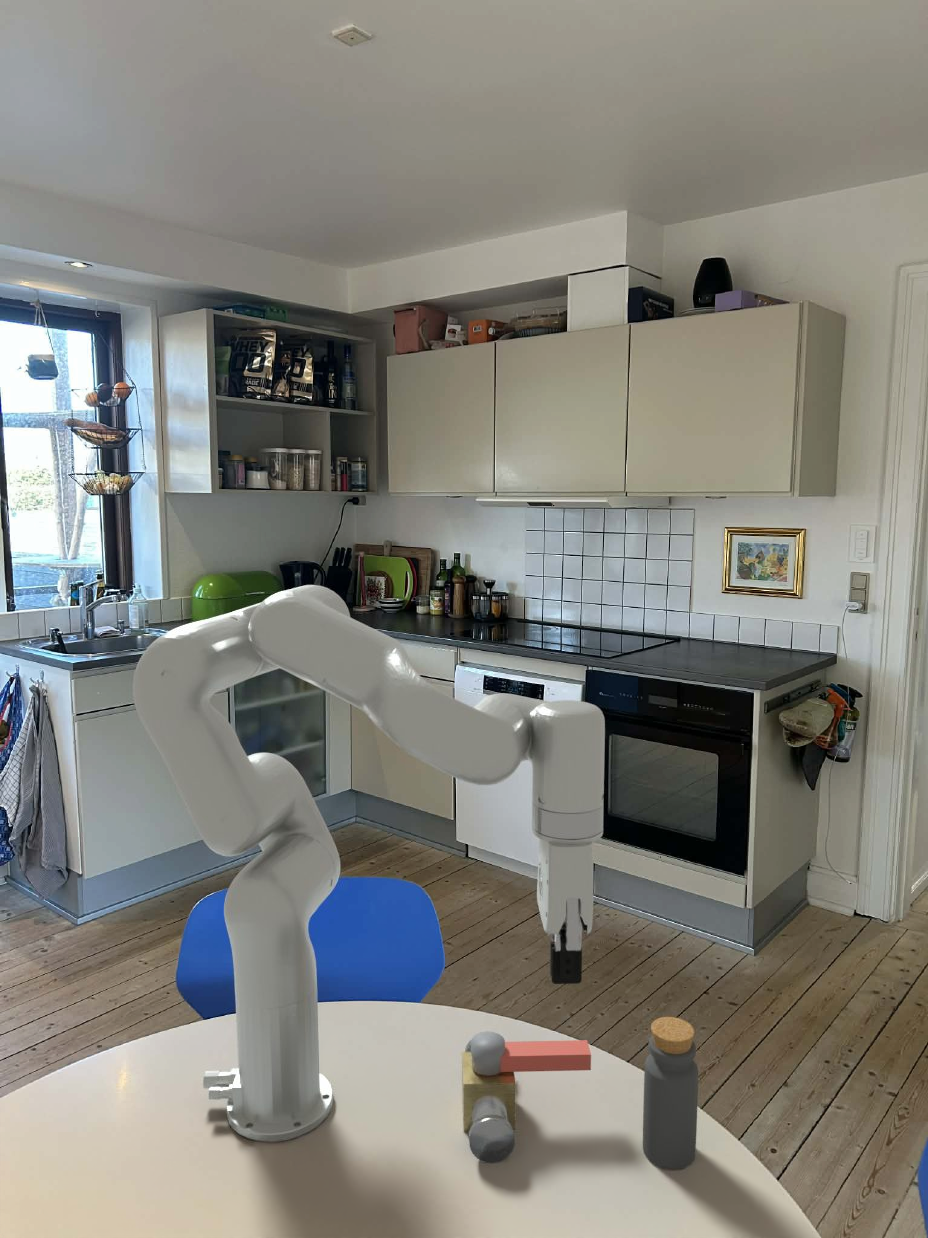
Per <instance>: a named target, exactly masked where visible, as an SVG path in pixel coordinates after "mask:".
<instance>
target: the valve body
mask: <svg viewBox="0 0 928 1238" xmlns="http://www.w3.org/2000/svg"><path fill="white" fill-rule="evenodd" d="M461 1093H462V1094H461V1098H462V1099H461V1100H462V1104H461V1105H462V1124H463V1125H462V1126H463V1132H468V1139H469V1141H468V1143H469V1149H470V1151H471V1154H472V1155H473V1156H474V1157H475V1158H476V1159H477V1160H479V1161H481V1162H483V1163H488V1164H494V1163H500V1162H503V1161H504V1160H505V1159H506V1160H507V1158H508V1157H510V1155H511V1154H512V1152H513V1151H514V1147H515V1144H516V1143H515V1141H516V1140H515V1133H514V1131H516V1078H515V1072H500V1073H498V1074H496V1075H491V1076H486V1075H481V1074H478V1073H476V1072H475V1071H474V1070H473V1069H472V1067H471V1039H470V1040H469V1041H468V1042H467V1044H466V1047H465V1051H464V1052H463V1051H462V1052H461Z"/></svg>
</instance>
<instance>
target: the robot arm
mask: <svg viewBox="0 0 928 1238" xmlns="http://www.w3.org/2000/svg"><path fill="white" fill-rule="evenodd" d="M278 669H281V670H283V671H285V672H287V673H289V674H291V675H293V676H294V677H297V678H298V679H300V680H303V681H305V682H307V683H309V684H311V685H313V686H315V687H317V688H319V689H321V690H323V691H325V692H327V693H329V694H331V695H333V696H334V697H337V698H338V699H340V700H342V701H344V702H346V703H348V704H350V705H351V706H353V707H355V708H358V709H359V710H361V711H362V712H363V713H364V714H366V715H367V716H368V718H369V719H370V720H371V722H372V723H373V724H374V725H375V726H376V727H377V728H378V729H380V730H381V731H382V732H383V733H384V734H385V735H386V736H387V737H388V738H389V739H390V740H391V741H392V742H394V744H396V745H397V747H399V748H401V749H402V750H403V751H405V752H406V753H407V754H408V755H411V756H412V757H413V758H415V759H418V760H419V761H420V762H423V763H425V764H426V765H429V766H431V767H432V768H435V769H437V770H439V771H440V772H442V773H445V774H446V775H449V776H451V777H452V778H455V779H458V780H459V781H463V782H464V783H469V784H472V785H476V786H494V785H498V784H500V783H502V782H504V781H506V780H508V779H509V778H510V777H511V776H512V775H513V774H514V773H515V772H516V770H517V769H518V768H519V766H520V764H521V763H522V762H524V761H529V762H530V763H531V765H532V767H531V768H532V791H531V792H532V798H531V799H532V800H531V802H532V803H531V809H532V810H531V818H532V819H531V832H532V833H533V835H534V836H535V837H537V838H538V859H537V862H538V864H537V883H536V884H537V885H536V887H537V888H536V902H537V905H538V911H539V915H540V919H541V923H542V926H543V931H544V932H545V933H546V934H547V935H548V936H551V941H550V943H549V945H550V947H549V948H550V949H549V950H550V952H549V954H550V955H549V957H550V960H549V961H550V963H549V973H550V978H551V982H552V984H554V985H566V984H568V985H569V984H572V985H573V984H581V982H582V980H583V979H582V973H583V971H582V970H583V969H582V968H583V947H582V940H583V939H582V938H583V937H582V936H583V934H582V933H583V932H584V934H585V935H588V934H589V933H591V932H592V930H593V929H592V928H593V920H594V919H593V918H594V917H593V916H594V864H595V863H594V862H595V861H594V842H595V841H597V840H599V839H601V837H603V835H604V805H605V804H604V798H605V795H604V794H605V792H604V791H605V783H604V782H605V742H606V741H605V739H606V727H605V726H606V724H605V723H606V721H605V716H604V714H603V710H601V708H600V707H598V706H597V705H595V704H592V703H590V702H586V701H581V700H573V699H572V700H569V699H568V700H567V699H565V700H564V699H563V700H562V699H561V700H552V701H547V700H544V699H543V700H542V699H537V698H532V697H528V696H522V695H520V694H519V695H518V694H513V693H506V692H505V693H504V692H503V693H494V694H490V695H487V696H485V697H483V698H482V699H480V701H479V702H477V703H476V704H475V705H474V706H471V705H469V704H467V703H465V702H462V701H461V700H459V699H456V698H454V697H452V696H450V695H448V694H447V693H446V692H443V691H441V690H440V689H438V688H436V687H435V686H434V685H432V684H431V683H429V682H428V681H427V680H425V679H424V678H423V676H421V675H420V674H419V673H418V672H417V671H416V669H415V668H414V666H413V665H412V663H411V661H410V658H409V656H408V654H407V652H406V649H405V648H404V646H403V644H402V643H401V642H400V641H398V639H396V638H394V637H392V636H390V635H388V634H385V633H384V632H381V631H379V630H377V629H375V628H373V627H370V626H369V625H367V624H365V623H363V622H360V621H358V620H356V619H354V618H353V617H351V614H350V611H349V608H348V606H347V604H346V601H344V600H343V598H342V597H341V596H340V595H339V594H338V593H336V592H335V591H334V590H331V588H328V587H326V586H322V585H316V584H306V585H302V586H298V587H293V588H291V589H289V588H288V589H286V590H285V589H284V590H281V591H278V592H276V593H274V594H271V595H270V596H268V597H266V598H265V599H264V600H263V601H262V602H259V603H255V604H253V605H249V606H246V607H243V608H240V609H237V610H234V611H232V612H231V611H230V612H228V613H224V614H220V615H217V616H212V617H210V618H206V619H201V620H198V621H193V622H189V623H186V624H183V625H180V626H178V627H175V628H173V629H171V630H168V631H167V632H165V633H164V634H162V635H160V636H159V637H158V638H156V639H155V640H154V641H152V643H150V645H149V646H147V648H146V650H144V652H143V653H142V655H141V657H140V658H139V660H138V662H137V665H136V667H135V670H134V674H133V679H132V698H133V703H134V706H135V709H136V713H137V715H138V718H139V720H140V722H141V724H142V726H143V728H144V729H145V731H146V733H147V734H148V736H149V737H150V739H151V740H152V742H153V744H154V746H155V747H156V749H157V750H158V752H159V754H160V756H161V758H162V759H163V762H164V763H165V765H166V767H167V769H168V772H169V773H170V777H171V779H172V781H173V783H174V785H175V787H176V789H177V791H178V794H179V795H180V797H181V800H182V802H183V804H184V806H185V807H186V810H187V812H188V814H189V816H190V817H191V820H192V822H193V825H194V827H195V828H196V830H197V832H198V833H199V835H200V837H201V840H202V841H203V842H204V844H205V845H206V846H207V847H208V848H209V849H210V850H211V851H213V852H214V853H215V854H217V855H219V856H223V857H234V856H239V855H242V854H244V853H246V852H248V851H249V850H251V849H253V848H255V847H256V846H259V847H260V850H261V852H260V853H259V854H257V855H256V856H255V858H253V859H252V860H250V862H249V863H247V864H246V865H245V866H244V867H243V868H242V869H241V870H240V871H239V872H238V874H237V875H236V876H235V877H234V878H233V880H232V882H231V883H230V885H229V886H228V889H227V891H226V894H225V899H224V904H223V916H224V922H225V926H226V930H227V933H228V938H229V943H230V947H231V952H232V953H231V954H232V963H233V975H234V976H233V979H234V997H235V1015H236V1018H235V1019H236V1020H235V1022H236V1041H237V1043H236V1044H237V1045H236V1046H237V1064H238V1065H237V1066H238V1067H232V1068H230V1069H231V1070H227V1071H226V1070H225V1071H223V1070H207V1071H206V1070H205V1071H204V1076H203V1080H202V1081H203V1083H202V1085H203V1089H204V1090H205V1089H208V1090H209V1091H208V1100H223V1099H227V1103H226V1118H227V1121H228V1123H229V1125H230V1126H231V1127H230V1128H232V1129H233V1130H234V1131H235V1132H237V1134H239V1135H240V1136H243V1137H245V1138H247V1139H251V1140H253V1141H259V1142H267V1143H268V1142H281V1141H287V1140H292V1139H294V1138H297V1137H298V1138H299V1137H300V1136H302V1135H304V1134H307V1133H308V1132H310V1131H312V1130H314V1129H315V1128H316V1127H318V1126H319V1125H321V1123H323V1122H324V1120H325V1119H326V1118H327V1117H328V1116H329V1114H330V1112H331V1110H332V1107H333V1103H334V1091H333V1086H332V1084H331V1083H330V1080H329V1079H328V1078H327V1077H326V1076H325V1075H323V1074H322V1073H320V1048H319V1047H320V1046H319V1045H320V1044H319V1010H318V1008H319V1007H318V981H317V980H318V978H317V972H318V971H317V958H316V955H315V949H314V946H313V943H312V940H311V939H310V933H309V923H310V920H311V917H312V915H314V913H315V912H317V910H318V909H319V907H320V906H321V904H323V903H324V901H325V900H326V899H327V897H328V896H330V894H331V893H332V892H333V890H334V889H335V887H336V885H337V883H338V881H339V878H340V874H341V859H340V853H339V852H338V848H337V846H336V843H335V841H334V838H333V836H332V834H331V832H330V830H329V828H328V826H327V824H326V822H325V820H324V817H323V816H322V813H321V812H320V810H319V807H318V806H317V803H316V801H315V799H314V797H313V795H312V793H311V791H310V788H309V787H308V785H307V783H306V781H305V779H304V777H303V776H302V775H301V774H300V772H299V770H298V769H297V768H296V767H295V766H294V765H293V764H292V763H291V762H290V761H289V760H287V759H286V758H284V757H283V756H280V755H278V754H275V753H270V752H256V753H252V754H250V755H247V753H246V751H245V750H244V748H243V746H242V745H241V743H240V739H239V738H238V735H237V733H236V731H235V729H234V728H233V726H232V724H231V723H230V721H228V720H227V718H226V717H225V716H224V715H223V714H222V713H221V712H220V711H219V710H217V709H216V708H215V707H214V706H213V705H212V703H211V701H210V700H211V698H212V696H214V694H216V693H218V692H221V691H223V690H226V689H228V688H231V687H232V686H235V685H238V684H240V683H242V682H244V681H247V680H249V679H252V678H255V677H257V676H261V675H263V674H266V673H269V672H272V671H275V670H278Z"/></svg>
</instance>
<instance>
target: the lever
mask: <svg viewBox="0 0 928 1238" xmlns="http://www.w3.org/2000/svg"><path fill="white" fill-rule="evenodd" d="M470 1040H471V1067H472V1069H473V1070H474V1071H475V1072H476V1073H478V1074H481V1075H486V1076H491V1075H496V1074H498V1073H500V1072H514V1073H517V1072H519V1073H523V1072H524V1073H525V1072H526V1073H528V1072H564V1071H566V1072H569V1071H570V1072H571V1071H575V1072H577V1071H591V1070H592V1067H591V1066H592V1054H591V1049H590V1045H589V1041H588V1040H587V1039H582V1040H579V1039H578V1040H577V1039H576V1040H539V1041H538V1040H535V1041H527V1040H526V1041H506V1040H505V1038H504V1036H502V1035H501V1034H500V1033H498V1032H494V1031H482V1032H478V1033H477V1034H474V1035H473V1036H472V1037H471V1039H470Z"/></svg>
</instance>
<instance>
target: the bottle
mask: <svg viewBox="0 0 928 1238" xmlns="http://www.w3.org/2000/svg"><path fill="white" fill-rule="evenodd" d="M650 1031H651V1036H650V1037H649V1040H648V1051H649V1055H647V1057H646V1059H645V1060H644V1075H643V1076H644V1077H643V1105H642V1106H643V1107H642V1108H643V1110H642V1111H643V1112H642V1114H643V1115H642V1151H643V1154H644V1155H645V1157H646V1159H648V1161H649V1162H651V1163H652V1164H653V1165H655V1166H657V1167H659V1168H661V1169H665V1170H671V1171H678V1170H683V1169H686V1168H689V1167H690V1166H691V1165H692V1164H693V1163H694V1161H695V1158H696V1151H697V1150H696V1149H697V1127H698V1125H697V1123H698V1122H697V1121H698V1101H699V1099H698V1097H699V1068H698V1065H697V1063H696V1061H695V1060H694V1059H696V1056H697V1055H696V1053H697V1046H696V1043H695V1042H694V1037H695V1029H694V1027H693V1026H692V1024H690V1023H689V1022H688V1021H687V1020H684V1019H682V1018H679V1017H673V1016H663V1017H659V1018H656V1019H655V1020H653V1021H652V1022H651V1024H650Z"/></svg>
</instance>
